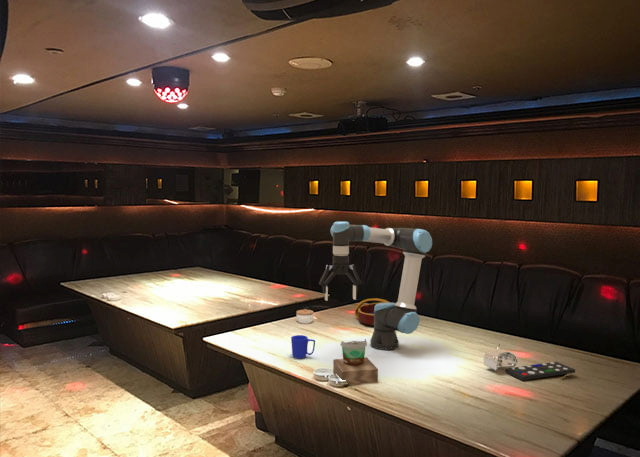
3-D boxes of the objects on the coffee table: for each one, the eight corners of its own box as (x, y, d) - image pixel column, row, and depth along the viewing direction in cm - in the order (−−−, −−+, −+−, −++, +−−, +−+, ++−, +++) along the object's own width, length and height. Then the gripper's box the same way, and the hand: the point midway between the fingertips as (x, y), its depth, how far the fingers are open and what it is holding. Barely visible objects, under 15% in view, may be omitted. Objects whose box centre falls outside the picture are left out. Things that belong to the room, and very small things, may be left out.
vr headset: (495, 374, 228) (497, 351, 226) (481, 366, 236) (483, 344, 234) (517, 368, 235) (519, 346, 233) (502, 361, 242) (504, 339, 240)
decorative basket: (413, 322, 318) (413, 299, 317) (387, 331, 297) (387, 306, 296) (370, 313, 341) (370, 291, 340) (343, 321, 319) (343, 298, 318)
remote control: (505, 371, 232) (505, 367, 231) (556, 364, 242) (556, 360, 242) (522, 380, 221) (522, 375, 221) (575, 372, 231) (575, 368, 231)
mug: (313, 360, 243) (313, 340, 242) (289, 359, 245) (289, 339, 245) (316, 355, 251) (316, 336, 250) (293, 353, 253) (293, 334, 253)
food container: (344, 367, 217) (344, 344, 216) (340, 362, 223) (340, 340, 222) (371, 365, 220) (371, 342, 219) (366, 360, 226) (366, 338, 225)
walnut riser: (366, 370, 231) (367, 357, 230) (377, 382, 215) (378, 369, 215) (333, 372, 228) (333, 359, 227) (341, 385, 212) (342, 371, 212)
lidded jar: (294, 322, 316) (294, 307, 315) (310, 321, 319) (310, 306, 318) (298, 326, 305) (299, 311, 305) (315, 325, 309) (315, 310, 308)
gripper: (364, 253, 239) (363, 297, 240) (313, 254, 234) (312, 298, 235) (368, 255, 232) (368, 300, 233) (316, 256, 227) (315, 302, 228)
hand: (340, 299), depth 234 cm, fingers open, 13 cm apart
